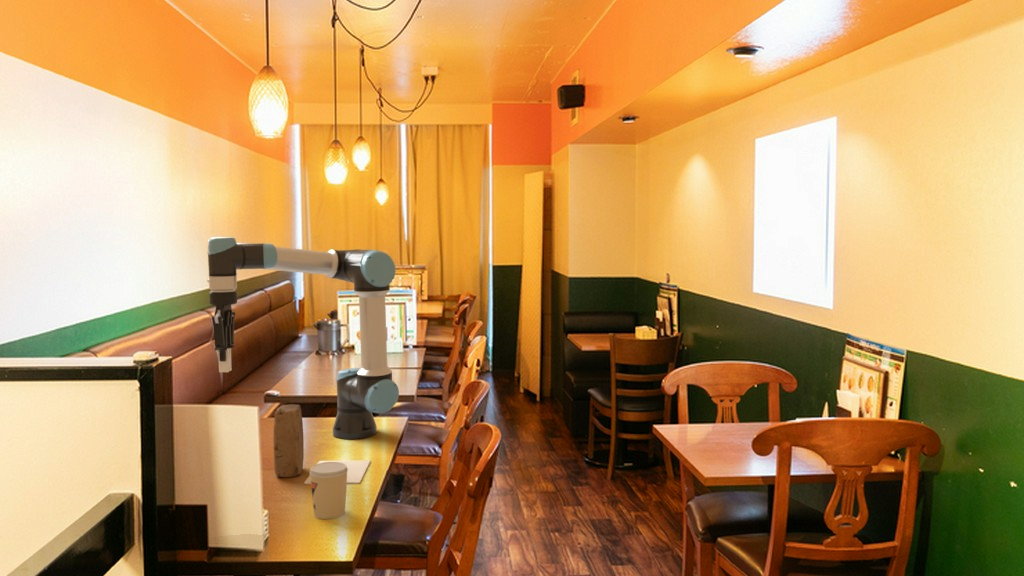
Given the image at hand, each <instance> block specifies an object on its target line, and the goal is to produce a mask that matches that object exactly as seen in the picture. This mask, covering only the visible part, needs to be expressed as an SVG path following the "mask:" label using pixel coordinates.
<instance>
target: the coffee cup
mask: <svg viewBox="0 0 1024 576" xmlns="http://www.w3.org/2000/svg"><path fill="white" fill-rule="evenodd" d="M347 471H348V468H347V467H346V465H345V464H343V463H340V462H324V463H320V464H318V463H317V464H315V465H313V466H311V468H310V469H309V475H310V476H311V484H310V487H311V498H312V499H311V500H312V510H313V515H314V517H315V518H317V519H322V520H331V519H336V518H340V517H341V516H343V515H345V513H346V498H347Z"/></svg>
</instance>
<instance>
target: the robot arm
mask: <svg viewBox="0 0 1024 576" xmlns="http://www.w3.org/2000/svg"><path fill="white" fill-rule="evenodd" d="M207 262H208V266H207V267H208V279H207V280H206V281H207V283H208V286H209V287H208V289H209V290H210V292H209V294H208V295H209V301H208V302H209V305H211V306H215V311H214V315H212V316H211V321H212V322H211V323H212V326H213V327H212V328H213V338H214V339H213V340H214V350H215V351H218V353H217V354H218V373H230V372H231V371H232V349H235V345H234V340H235V317H236V312H235V311H233V308H232V305H236V304H237V303H238V292H237V289H238V282H237V281H238V278H237V275H238V273H237V270H259V269H261V270H269V271H271V270H272V271H281V272H293V273H301V274H302V273H304V274H312V275H313V274H315V275H324V276H325V277H326V278H328V279H334V280H340V281H345V282H349V283H352V284H353V290H354V291H353V292H354V293H355V294H356V295H357V296H358V305H359V306H358V307H359V335H360V336H359V339H360V367H354V368H346V369H341V370H339V371H338V372H337V374H336V375H337V376H336V398H337V401H336V402H337V411H336V412H337V414H336V416H335V420H334V423H333V425H332V436H333V437H335V438H337V439H343V440H359V439H358V438H360V439H366V438H369V437H372V436H375V435H376V434H377V433H378V432H377V431H378V430H377V428H378V427H377V423H376V421H375V418H374V415H373V413H374V414H385V413H387V412H389V411H390V410H392V409H393V407H394V406H395V405H396V404H397V403H398V399H399V395H400V389H399V386H398V384H397V383H396V382H395V381H394V380H393V370H392V369H391V368H390V367H389V366H388V345H387V342H388V341H387V321H386V320H387V314H386V313H387V311H386V310H387V309H386V306H387V305H386V295H387V294H388V293H389V292H390V290H391V289H390V288H391V287H390V284H391V283H392V282H393V280H394V279H395V276H396V270H397V269H396V264H395V262H394V260H393V258H392V256H390V255H389V254H388V253H387V252H384V251H382V250H377V249H357V248H356V249H344V250H343V249H339V250H338V249H337V250H336V249H329V250H328V251H318V250H311V249H299V248H292V247H281V246H275V245H274V244H273V243H266V242H263V243H253V242H251V243H250V242H237V241H236V238H235V237H233V236H229V237H228V236H223V237H222V236H215V237H214V236H213V237H210V238H209V239H208V241H207ZM365 437H366V438H365Z"/></svg>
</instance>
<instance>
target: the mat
mask: <svg viewBox="0 0 1024 576" xmlns="http://www.w3.org/2000/svg"><path fill="white" fill-rule="evenodd" d="M324 462H340V463H343V464H345V465H346V467H347V468H348V471H347V484H348V485H349V484H350V485H351V484H352V485H359V484H361V482H362V480H363V478H364V476H365V473H366V471H367V469H368V467H369V465H370V463H371V460H370V459H369V460H361V459H360V460H319V461H318V462H317V464H320V463H324ZM303 484H304V485H311V476H310V474H309V475H308V477H307V478H306V479H305V480H304V483H303Z"/></svg>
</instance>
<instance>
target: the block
mask: <svg viewBox="0 0 1024 576" xmlns="http://www.w3.org/2000/svg"><path fill="white" fill-rule="evenodd" d="M303 425H304V424H303V416H302V408H301V405H300V404H291V403H290V404H282V405H280V406H279V407H277V409H276V411H275V412H274V422H273V463H274V465H273V466H274V473H275V476H276V477H279V478H293V477H296V476H299V474H300V475H301V474H302V472H303V467H304V460H305V459H304V455H305V452H304V450H305V449H304V446H305V445H304V443H305V441H304V426H303Z"/></svg>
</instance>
